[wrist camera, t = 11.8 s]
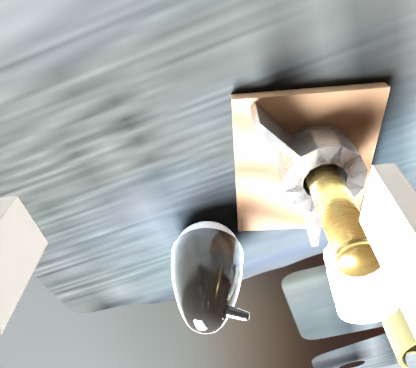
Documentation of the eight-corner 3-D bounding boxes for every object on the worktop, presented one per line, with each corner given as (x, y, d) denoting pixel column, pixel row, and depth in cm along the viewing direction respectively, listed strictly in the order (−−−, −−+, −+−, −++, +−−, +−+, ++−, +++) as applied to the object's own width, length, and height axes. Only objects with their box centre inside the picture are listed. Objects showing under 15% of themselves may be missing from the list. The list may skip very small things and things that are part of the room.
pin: (299, 144, 39) (341, 249, 26) (331, 142, 38) (389, 246, 26) (297, 170, 41) (335, 277, 28) (327, 168, 40) (378, 275, 28)
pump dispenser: (247, 252, 52) (256, 348, 40) (183, 260, 54) (174, 355, 42) (237, 205, 46) (244, 301, 34) (166, 215, 48) (149, 310, 36)
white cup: (382, 244, 51) (413, 302, 43) (346, 272, 55) (368, 329, 47) (343, 225, 48) (368, 283, 40) (308, 256, 53) (325, 314, 45)
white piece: (249, 102, 35) (253, 123, 32) (363, 93, 35) (382, 114, 31) (251, 222, 46) (254, 249, 42) (338, 217, 45) (350, 244, 41)
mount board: (230, 94, 37) (231, 99, 35) (384, 82, 35) (390, 87, 34) (237, 224, 49) (238, 231, 47) (352, 218, 47) (356, 225, 46)
